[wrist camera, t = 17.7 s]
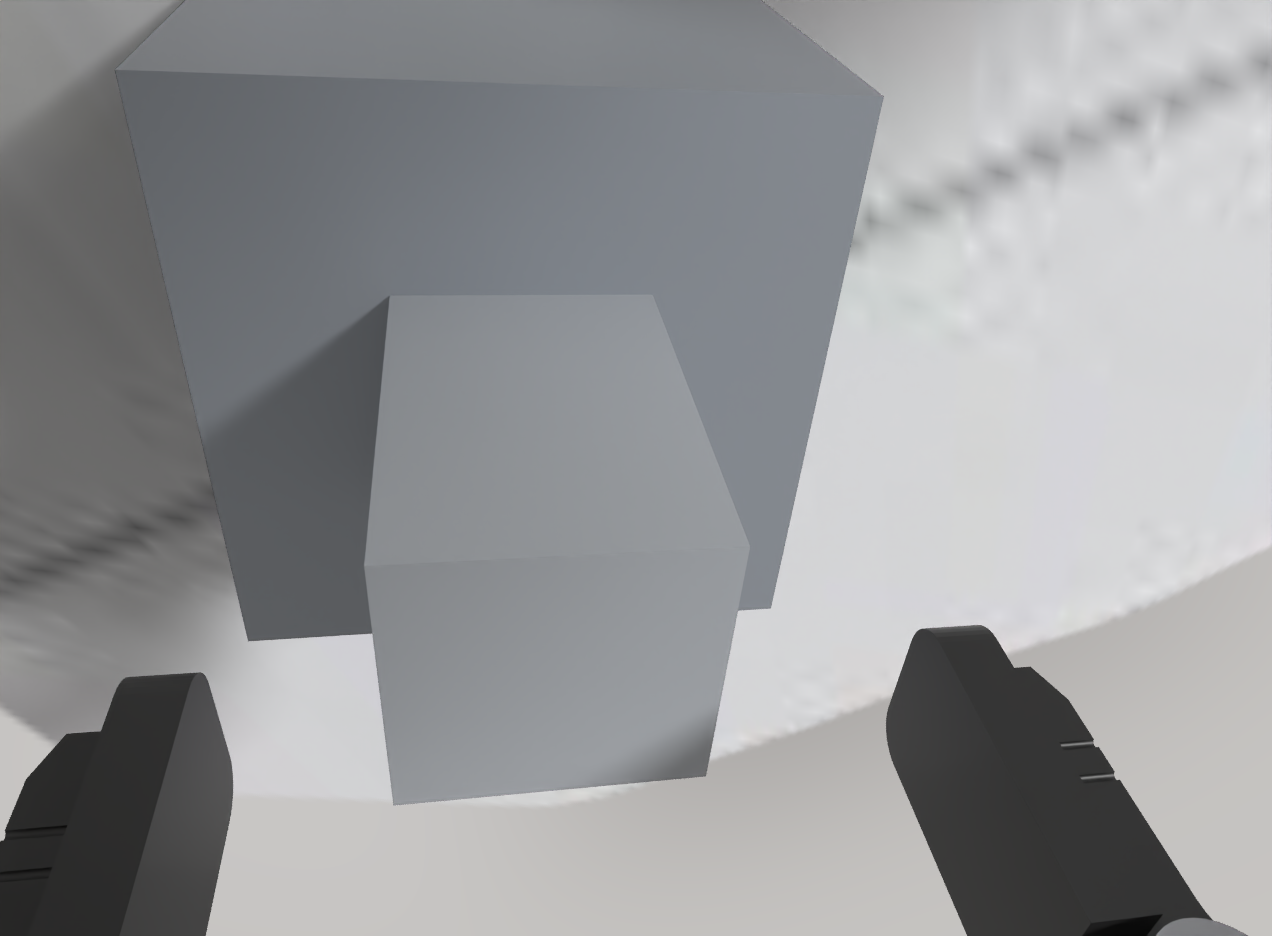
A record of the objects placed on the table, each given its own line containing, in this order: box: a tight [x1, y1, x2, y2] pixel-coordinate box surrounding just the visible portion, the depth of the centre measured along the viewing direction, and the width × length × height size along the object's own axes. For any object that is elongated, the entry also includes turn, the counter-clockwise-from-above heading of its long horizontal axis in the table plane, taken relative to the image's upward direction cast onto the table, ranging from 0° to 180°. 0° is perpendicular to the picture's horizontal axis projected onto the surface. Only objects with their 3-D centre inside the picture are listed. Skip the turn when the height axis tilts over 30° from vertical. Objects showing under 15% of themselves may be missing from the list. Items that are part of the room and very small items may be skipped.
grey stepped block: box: [115, 0, 884, 805], centre depth 17 cm, size 10×10×15 cm
